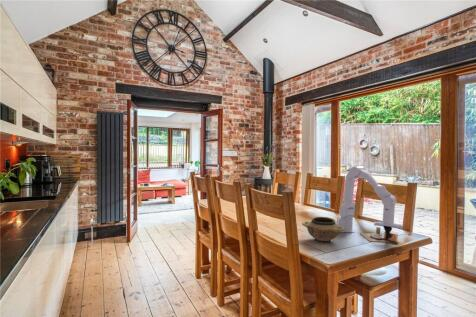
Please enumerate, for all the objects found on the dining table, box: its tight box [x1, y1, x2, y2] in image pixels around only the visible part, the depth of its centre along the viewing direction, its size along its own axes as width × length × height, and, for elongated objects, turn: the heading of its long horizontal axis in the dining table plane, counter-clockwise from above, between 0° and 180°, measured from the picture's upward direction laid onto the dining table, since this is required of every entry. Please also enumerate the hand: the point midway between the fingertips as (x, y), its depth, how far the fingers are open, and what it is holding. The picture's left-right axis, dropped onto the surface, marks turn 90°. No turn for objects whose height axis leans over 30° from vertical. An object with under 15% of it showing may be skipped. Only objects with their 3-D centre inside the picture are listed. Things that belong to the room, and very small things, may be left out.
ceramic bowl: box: [301, 216, 345, 245], centre depth 160 cm, size 24×18×15 cm
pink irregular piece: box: [370, 231, 399, 242], centre depth 165 cm, size 15×9×4 cm, turn 40°
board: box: [359, 226, 399, 244], centre depth 168 cm, size 16×15×6 cm
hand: (387, 238), depth 161 cm, fingers closed, pressing on pink irregular piece
